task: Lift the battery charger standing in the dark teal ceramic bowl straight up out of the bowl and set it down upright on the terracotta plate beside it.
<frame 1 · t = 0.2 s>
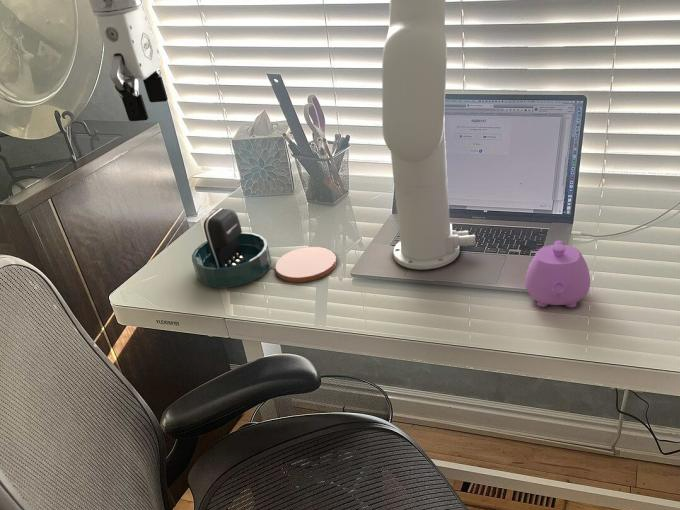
hand: (149, 110, 117), 31 cm above the table, tool pointing down, fingers open, 9 cm apart
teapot: (556, 300, 114), on the table
plate: (306, 266, 131), on the table
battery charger: (234, 268, 132), resting on bowl
bowl: (235, 270, 133), on the table
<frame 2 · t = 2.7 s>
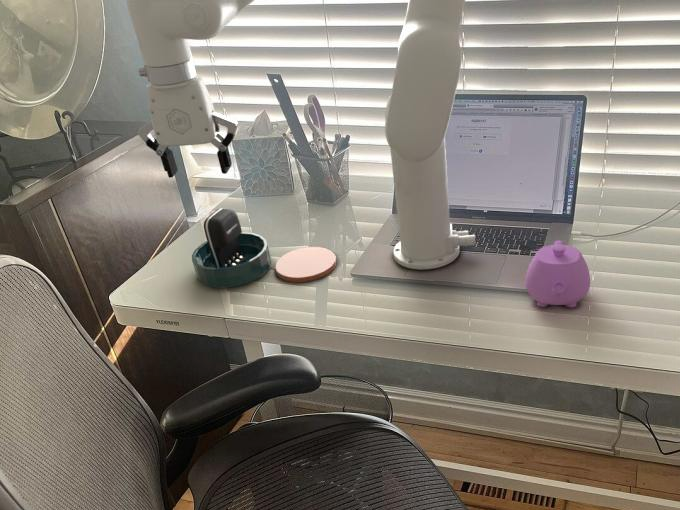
hand: (199, 172, 121), 20 cm above the table, tool pointing down, fingers open, 9 cm apart
nothing on the table moved.
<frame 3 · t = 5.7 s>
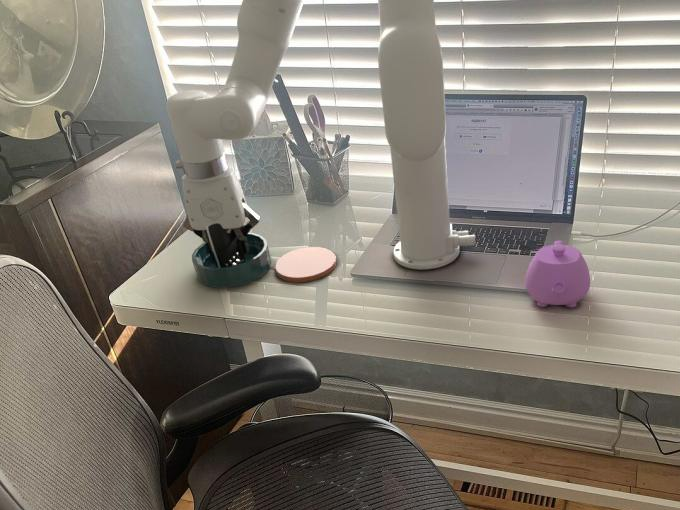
hand: (230, 255, 131), 3 cm above the table, tool pointing down, fingers closed on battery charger, 4 cm apart
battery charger: (235, 268, 132), resting on bowl, touching gripper
everything else where it was.
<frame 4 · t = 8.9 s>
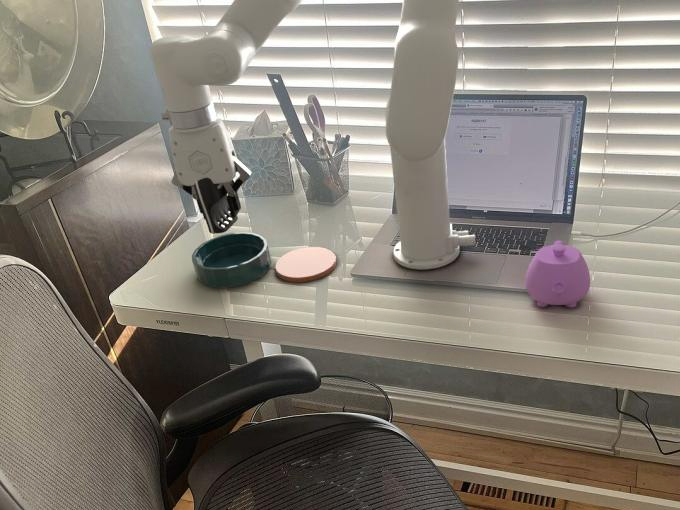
hand: (222, 214, 126), 12 cm above the table, tool pointing down, fingers closed on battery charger, 4 cm apart
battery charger: (227, 227, 127), point 9 cm above the table, touching gripper
everything else where it was.
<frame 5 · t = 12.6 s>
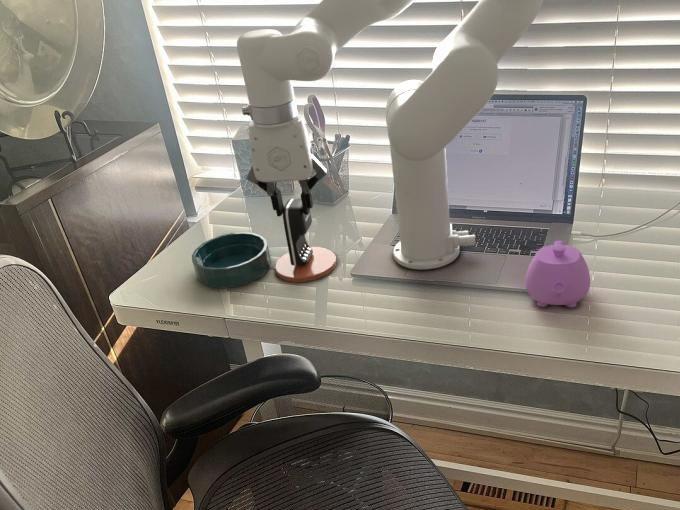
hand: (294, 211, 124), 12 cm above the table, tool pointing down, fingers open, 4 cm apart
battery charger: (304, 260, 131), point 1 cm above the table, touching plate
everything else where it was.
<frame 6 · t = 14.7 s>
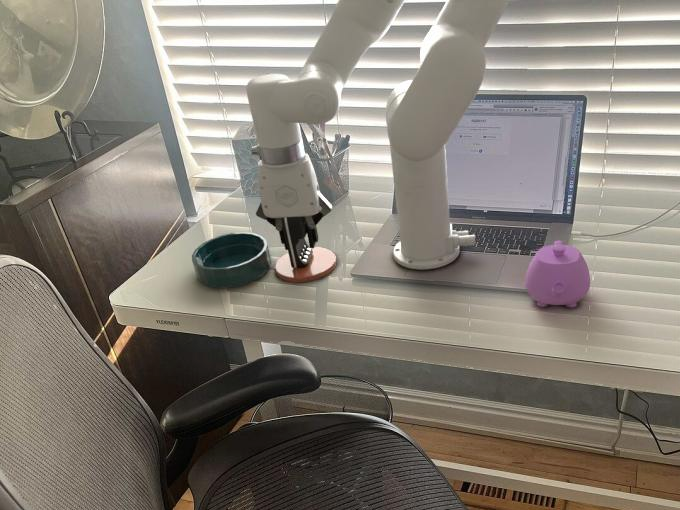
hand: (300, 244, 128), 5 cm above the table, tool pointing down, fingers closed on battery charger, 4 cm apart
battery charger: (304, 261, 131), point 1 cm above the table, touching gripper, plate
everything else where it was.
when the fingers open (5 cm above the table, at t = 14.7 s): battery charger stays where it is, resting on plate.
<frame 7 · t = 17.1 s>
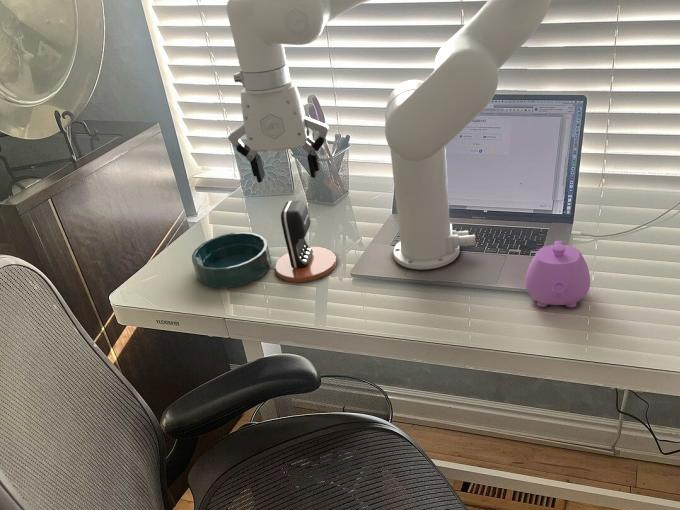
hand: (287, 177, 122), 18 cm above the table, tool pointing down, fingers open, 9 cm apart
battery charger: (304, 261, 131), point 1 cm above the table, touching plate
everything else where it was.
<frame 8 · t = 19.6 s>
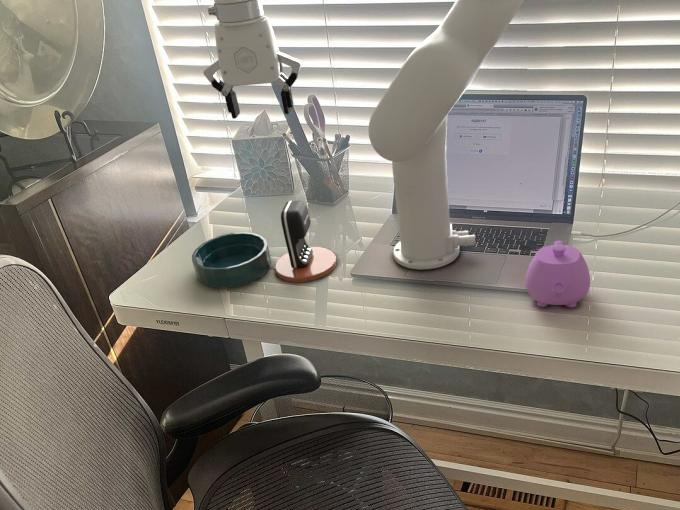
hand: (262, 113, 124), 26 cm above the table, tool pointing down, fingers open, 9 cm apart
nothing on the table moved.
at the end: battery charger inside the target area on the plate (0.5 cm from its centre), point 0.8 cm above the plate's base; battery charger tilted 0°; the gripper is holding nothing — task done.
